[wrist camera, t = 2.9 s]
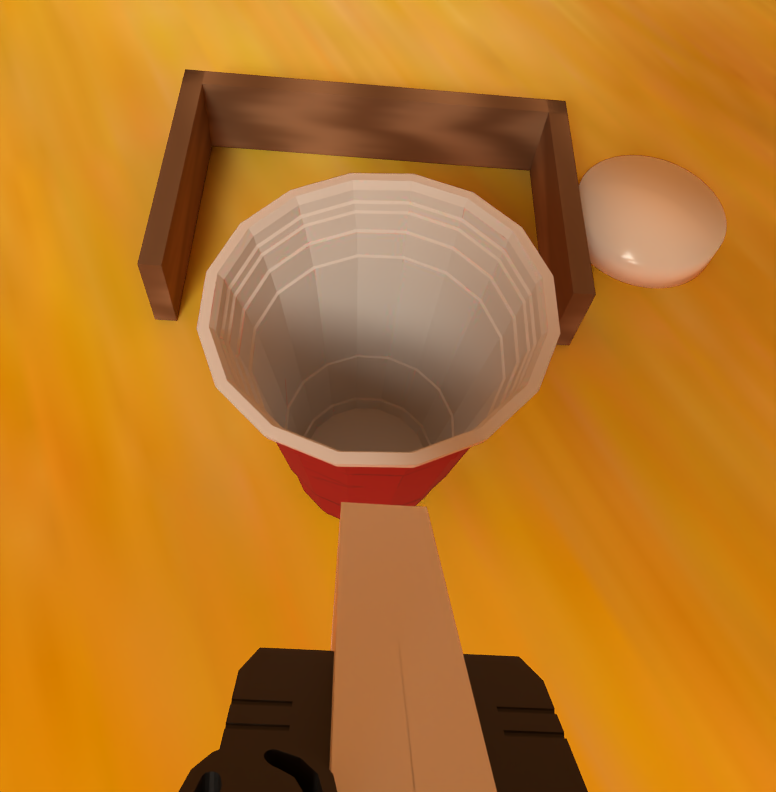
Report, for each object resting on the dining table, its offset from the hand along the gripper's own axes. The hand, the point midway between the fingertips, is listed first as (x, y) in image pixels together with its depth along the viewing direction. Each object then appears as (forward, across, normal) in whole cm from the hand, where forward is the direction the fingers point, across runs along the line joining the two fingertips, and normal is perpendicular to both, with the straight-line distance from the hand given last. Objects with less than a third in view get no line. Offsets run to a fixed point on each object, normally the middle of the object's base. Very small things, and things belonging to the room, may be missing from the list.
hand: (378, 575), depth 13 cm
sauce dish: (+29, +15, +6) cm, 33 cm away
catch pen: (+28, 0, +5) cm, 28 cm away
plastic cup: (+19, 0, -5) cm, 19 cm away
